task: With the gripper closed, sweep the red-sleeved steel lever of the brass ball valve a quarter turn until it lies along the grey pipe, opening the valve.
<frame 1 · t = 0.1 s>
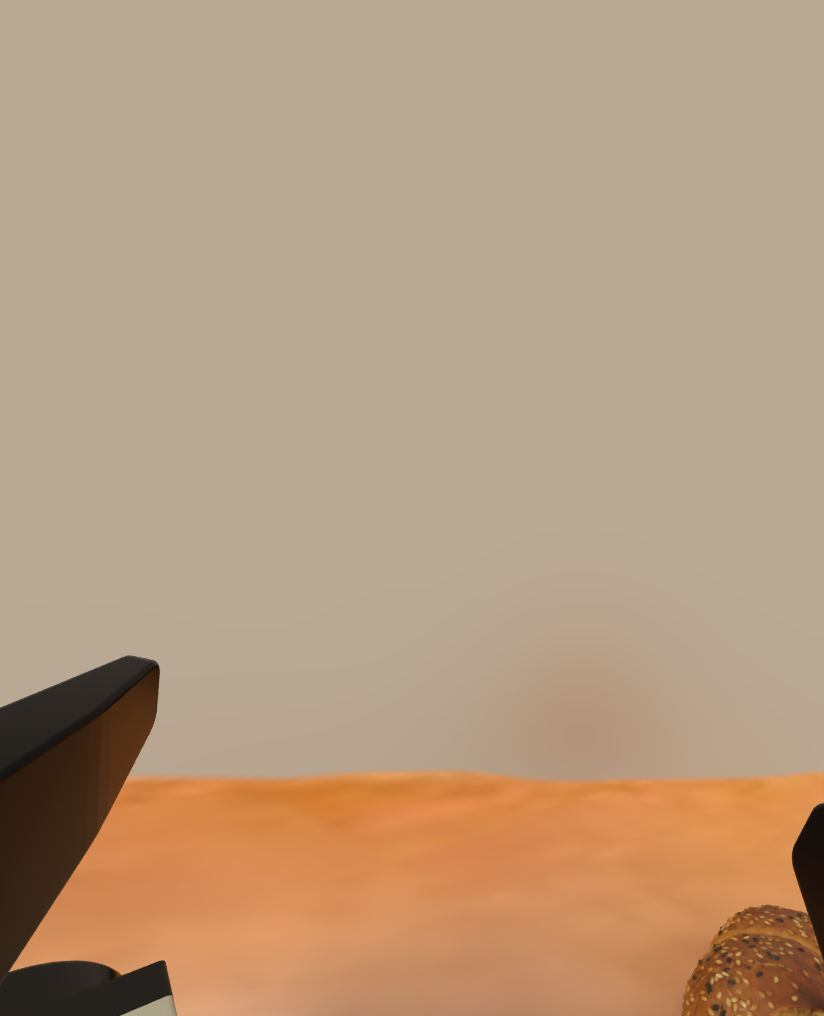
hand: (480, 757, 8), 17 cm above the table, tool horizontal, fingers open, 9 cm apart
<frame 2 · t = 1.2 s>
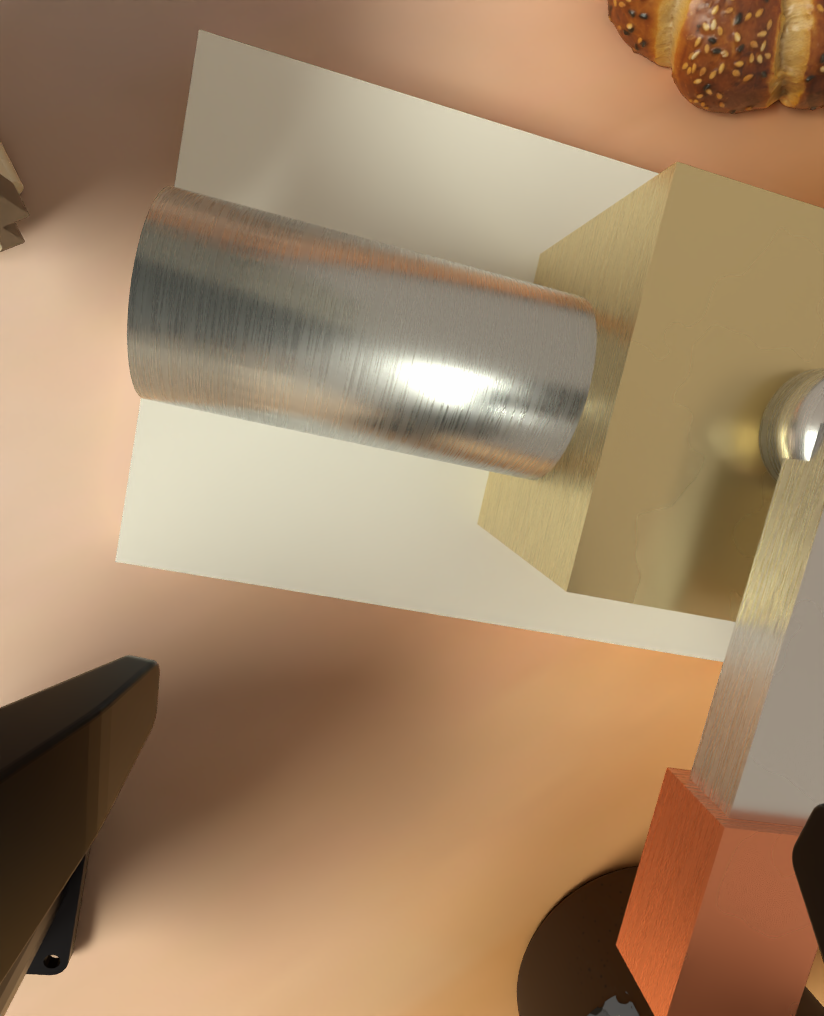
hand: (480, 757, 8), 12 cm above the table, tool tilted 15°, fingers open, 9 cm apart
olive oil: (626, 963, 25), on the table
valve body: (698, 425, 16), on the mount board, point 5 cm above the table
valve lever: (781, 694, 12), point 10 cm above the table, hinge at 0.0°
mount board: (608, 420, 21), on the table
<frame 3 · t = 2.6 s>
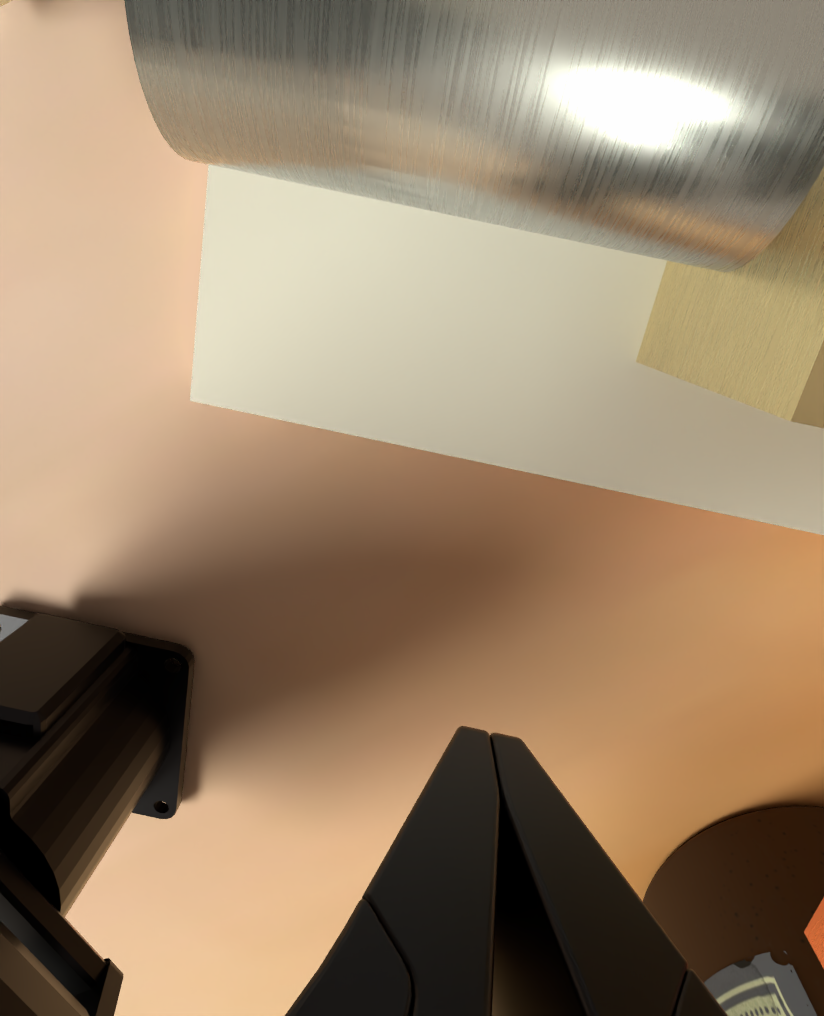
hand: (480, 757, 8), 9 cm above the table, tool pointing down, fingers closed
olive oil: (778, 906, 21), on the table
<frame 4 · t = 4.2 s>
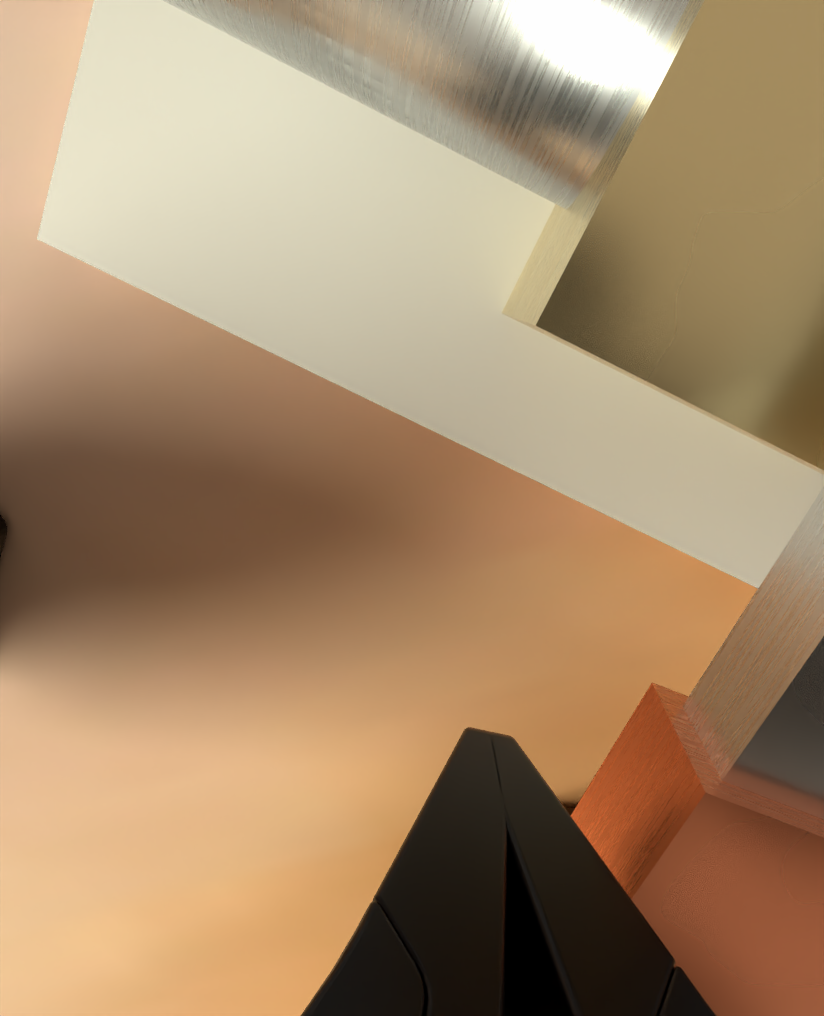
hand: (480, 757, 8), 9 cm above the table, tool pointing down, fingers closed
mount board: (741, 222, 14), on the table
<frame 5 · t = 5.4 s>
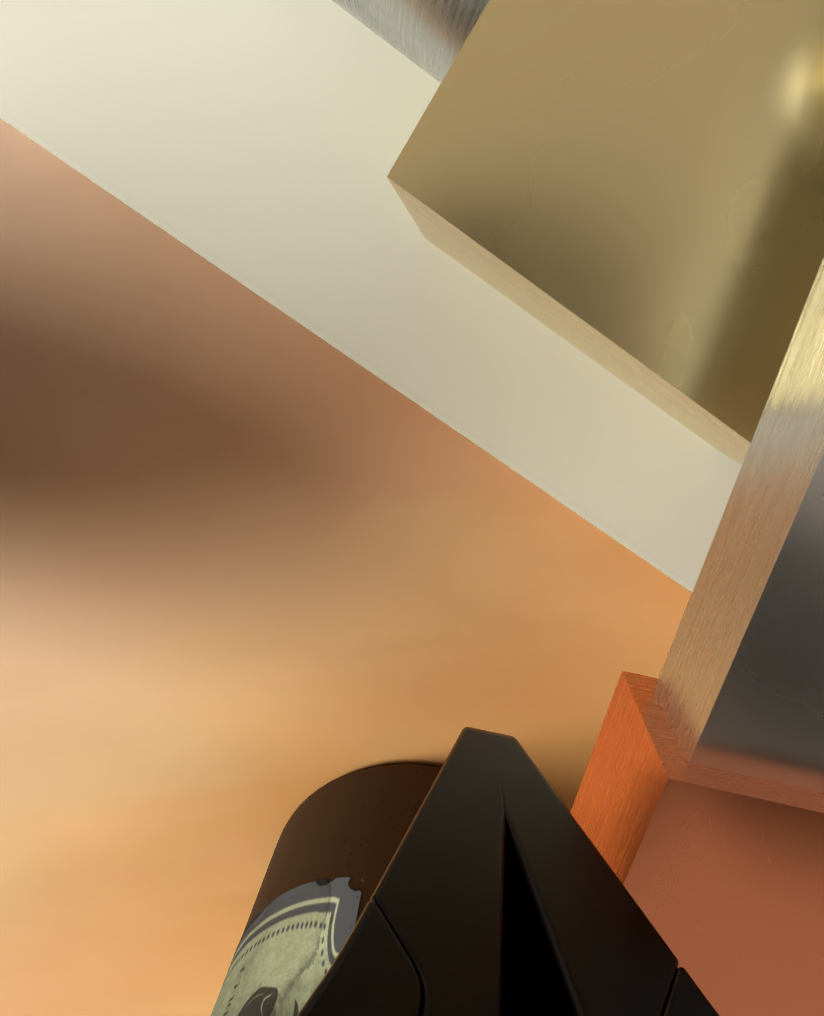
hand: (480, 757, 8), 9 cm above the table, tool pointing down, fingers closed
olive oil: (415, 867, 21), on the table
valve body: (789, 132, 9), on the mount board, point 5 cm above the table
mount board: (678, 189, 14), on the table
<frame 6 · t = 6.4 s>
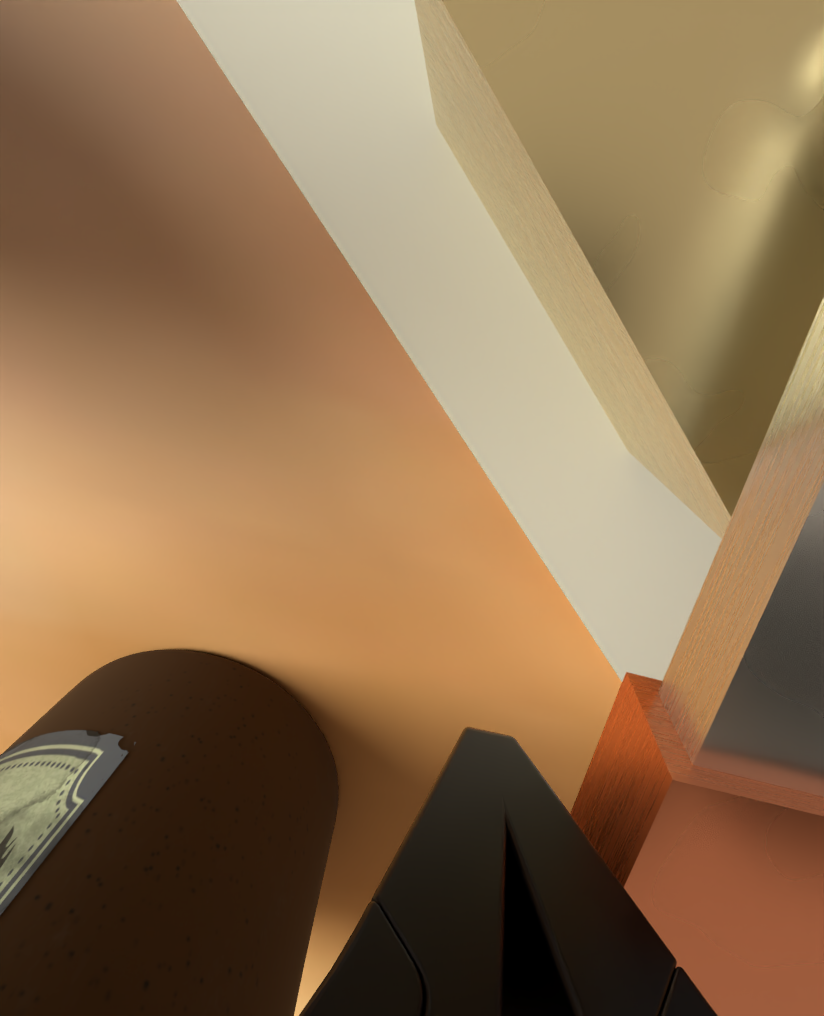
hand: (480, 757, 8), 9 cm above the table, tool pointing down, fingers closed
olive oil: (199, 766, 20), on the table
valve body: (802, 136, 9), on the mount board, point 5 cm above the table
mount board: (688, 192, 14), on the table
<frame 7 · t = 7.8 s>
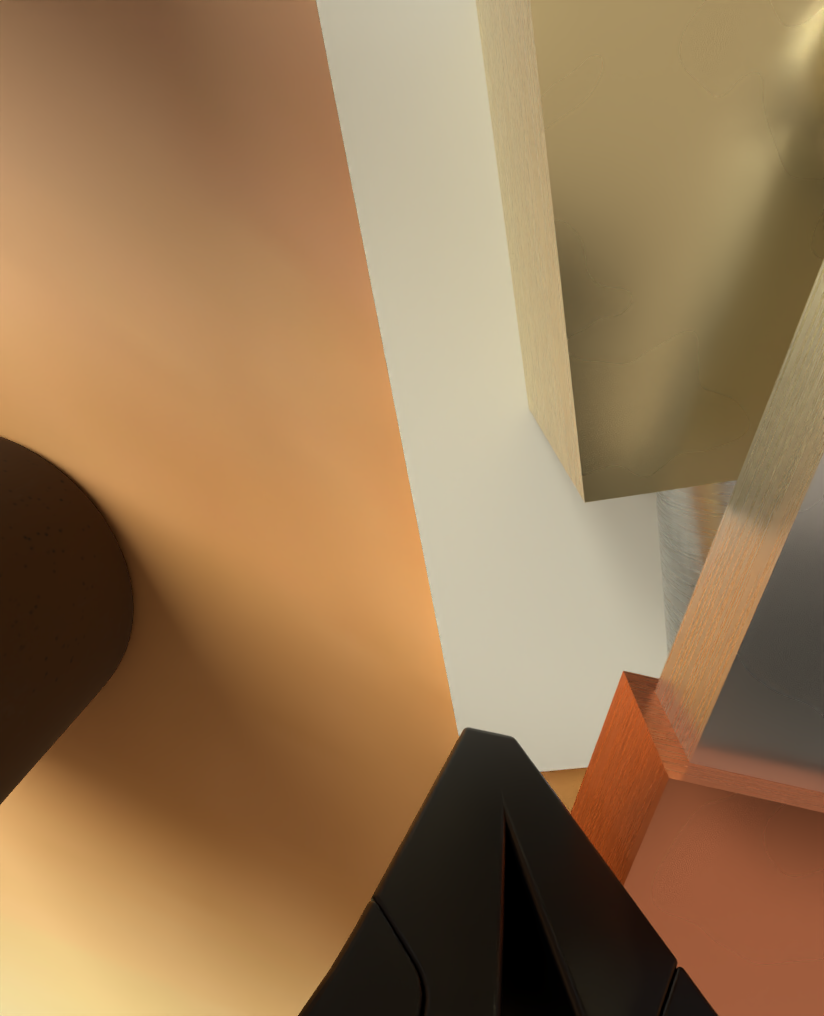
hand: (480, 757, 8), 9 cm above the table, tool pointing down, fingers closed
valve body: (790, 132, 9), on the mount board, point 5 cm above the table
mount board: (680, 189, 14), on the table
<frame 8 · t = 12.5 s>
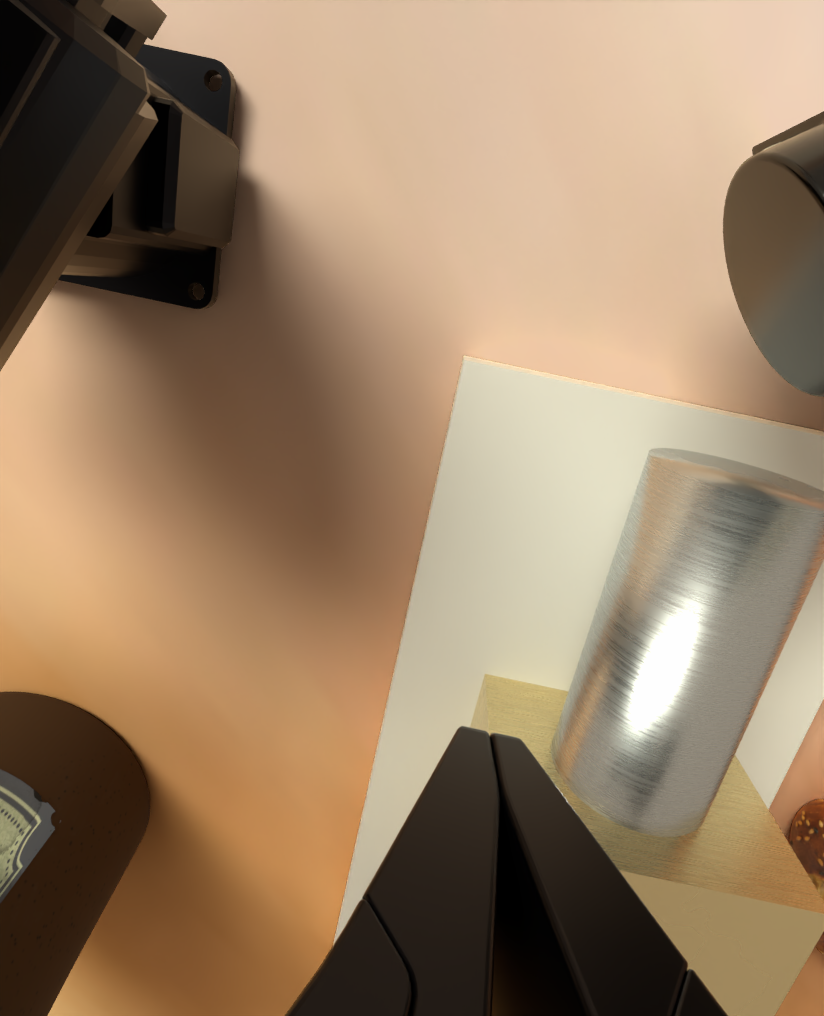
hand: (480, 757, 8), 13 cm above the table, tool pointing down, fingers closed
olive oil: (47, 779, 26), on the table
valve body: (586, 874, 19), on the mount board, point 5 cm above the table
mount board: (561, 760, 24), on the table
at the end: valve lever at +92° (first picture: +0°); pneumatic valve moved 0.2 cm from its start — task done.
